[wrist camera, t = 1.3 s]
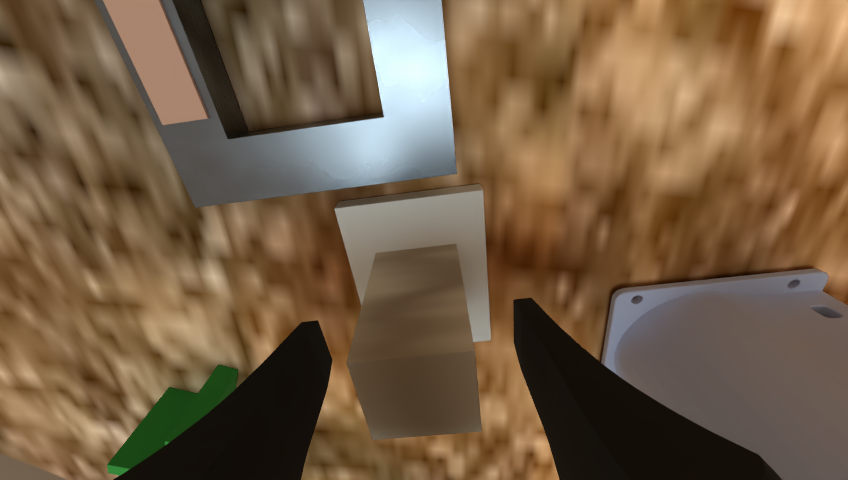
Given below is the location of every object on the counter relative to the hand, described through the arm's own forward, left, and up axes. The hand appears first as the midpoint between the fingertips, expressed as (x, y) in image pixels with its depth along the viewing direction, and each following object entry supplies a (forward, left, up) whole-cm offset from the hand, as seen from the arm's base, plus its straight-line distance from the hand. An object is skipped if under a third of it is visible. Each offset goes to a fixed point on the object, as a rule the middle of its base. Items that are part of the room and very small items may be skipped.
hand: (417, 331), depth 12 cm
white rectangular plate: (0, 0, -4) cm, 4 cm away
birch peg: (0, 0, -3) cm, 3 cm away
